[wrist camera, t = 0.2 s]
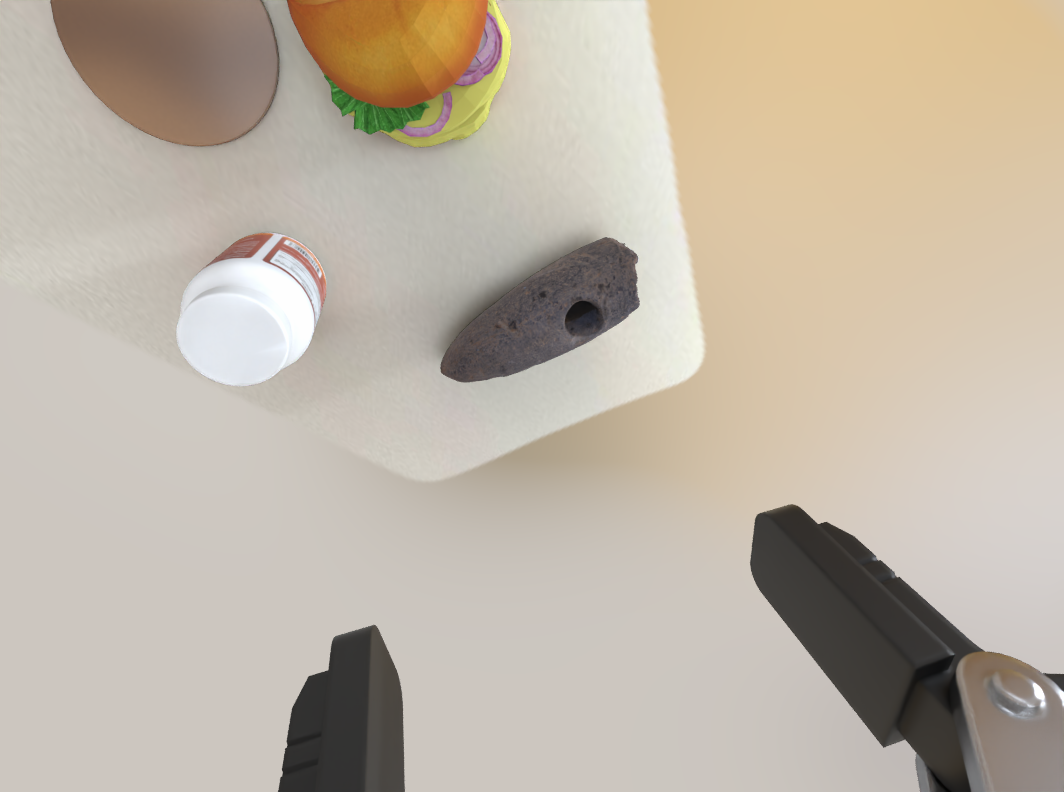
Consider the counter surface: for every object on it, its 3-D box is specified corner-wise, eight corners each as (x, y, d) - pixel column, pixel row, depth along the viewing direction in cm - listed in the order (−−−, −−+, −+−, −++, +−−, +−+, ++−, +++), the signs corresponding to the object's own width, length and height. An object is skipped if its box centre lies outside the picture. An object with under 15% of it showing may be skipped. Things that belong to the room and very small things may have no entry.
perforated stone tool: (454, 381, 40) (465, 427, 34) (417, 326, 37) (422, 365, 31) (624, 285, 39) (666, 314, 33) (599, 222, 37) (640, 242, 31)
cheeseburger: (416, 192, 33) (385, 176, 23) (286, 41, 30) (190, -48, 20) (538, 78, 31) (557, 11, 22) (414, -93, 28) (374, -257, 19)
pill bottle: (222, 316, 33) (156, 393, 24) (223, 220, 31) (150, 263, 22) (324, 331, 36) (300, 408, 26) (332, 242, 33) (310, 291, 24)
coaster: (6, -78, 24) (0, -81, 23) (234, -98, 25) (231, -101, 25) (121, 159, 29) (117, 159, 28) (305, 131, 30) (304, 131, 30)
